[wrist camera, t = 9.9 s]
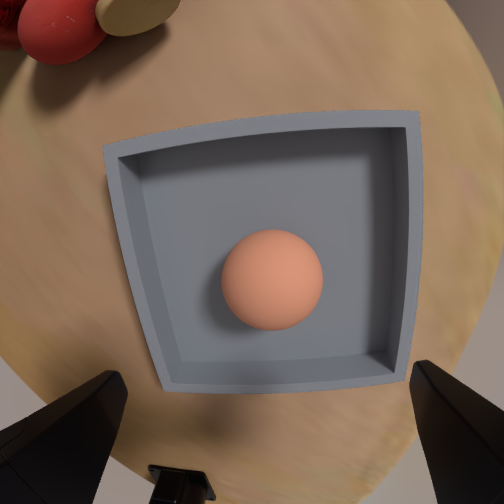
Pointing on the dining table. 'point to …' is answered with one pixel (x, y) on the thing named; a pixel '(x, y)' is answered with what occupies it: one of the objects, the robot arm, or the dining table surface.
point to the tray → (281, 218)
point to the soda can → (10, 24)
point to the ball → (272, 280)
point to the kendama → (84, 25)
